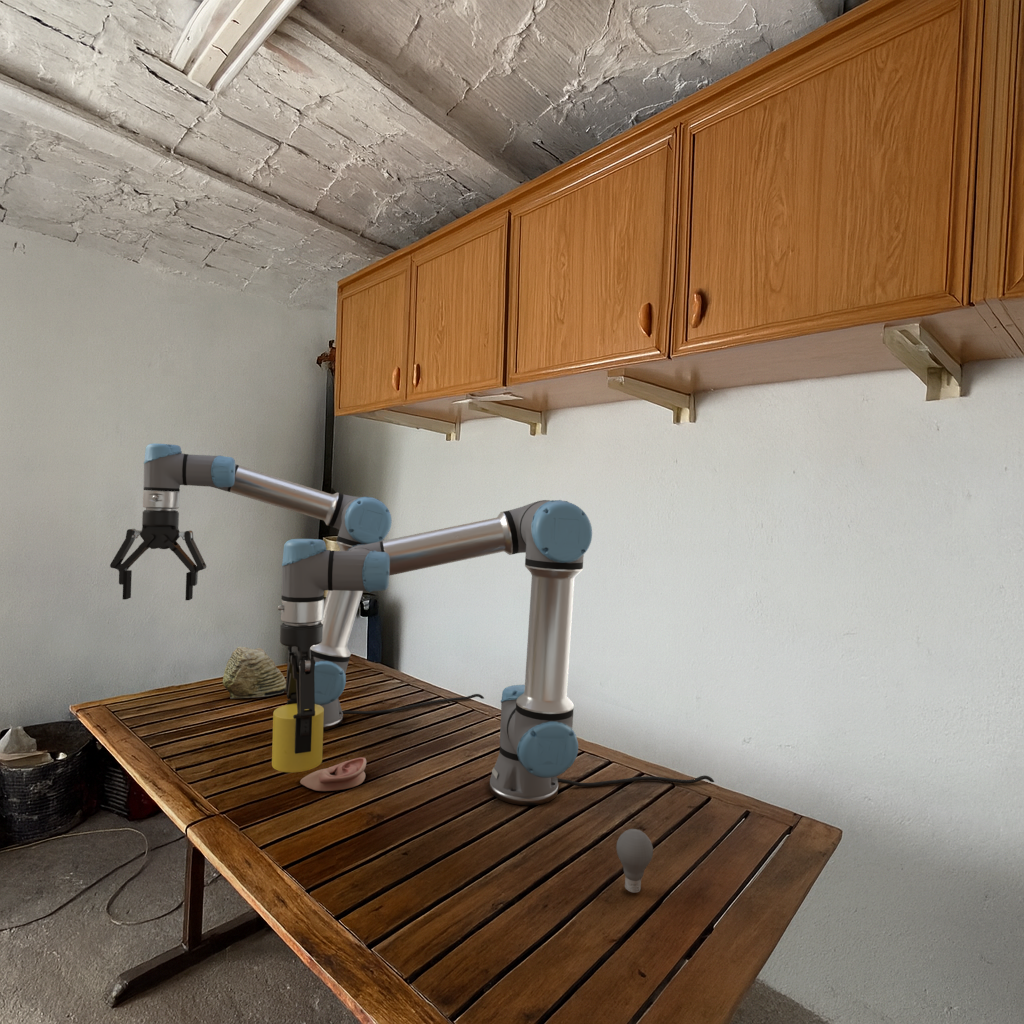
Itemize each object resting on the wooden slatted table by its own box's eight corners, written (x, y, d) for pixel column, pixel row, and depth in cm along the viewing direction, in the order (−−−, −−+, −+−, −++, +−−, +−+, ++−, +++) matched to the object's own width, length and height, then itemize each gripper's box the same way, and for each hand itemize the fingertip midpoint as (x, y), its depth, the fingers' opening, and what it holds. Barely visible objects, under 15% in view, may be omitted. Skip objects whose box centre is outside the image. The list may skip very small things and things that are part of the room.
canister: (283, 777, 112) (284, 722, 112) (264, 760, 119) (265, 708, 118) (330, 764, 118) (332, 712, 118) (310, 749, 125) (311, 699, 124)
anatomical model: (293, 769, 137) (319, 749, 148) (292, 787, 137) (319, 766, 148) (350, 777, 134) (372, 756, 145) (349, 796, 134) (372, 773, 146)
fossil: (218, 695, 195) (220, 647, 195) (278, 685, 208) (279, 640, 207) (228, 703, 189) (230, 653, 188) (289, 692, 201) (290, 645, 201)
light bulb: (610, 879, 108) (613, 822, 108) (644, 879, 109) (647, 822, 109) (619, 902, 102) (622, 840, 102) (655, 901, 103) (658, 840, 103)
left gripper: (95, 507, 144) (92, 600, 144) (213, 512, 148) (209, 602, 149) (110, 507, 151) (107, 595, 151) (221, 511, 156) (218, 597, 156)
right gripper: (272, 612, 125) (268, 725, 126) (290, 635, 106) (286, 768, 107) (311, 611, 129) (307, 720, 129) (335, 632, 110) (331, 761, 110)
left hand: (158, 599), depth 150 cm, fingers open, 13 cm apart
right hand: (298, 742), depth 118 cm, fingers closed on canister, 9 cm apart
